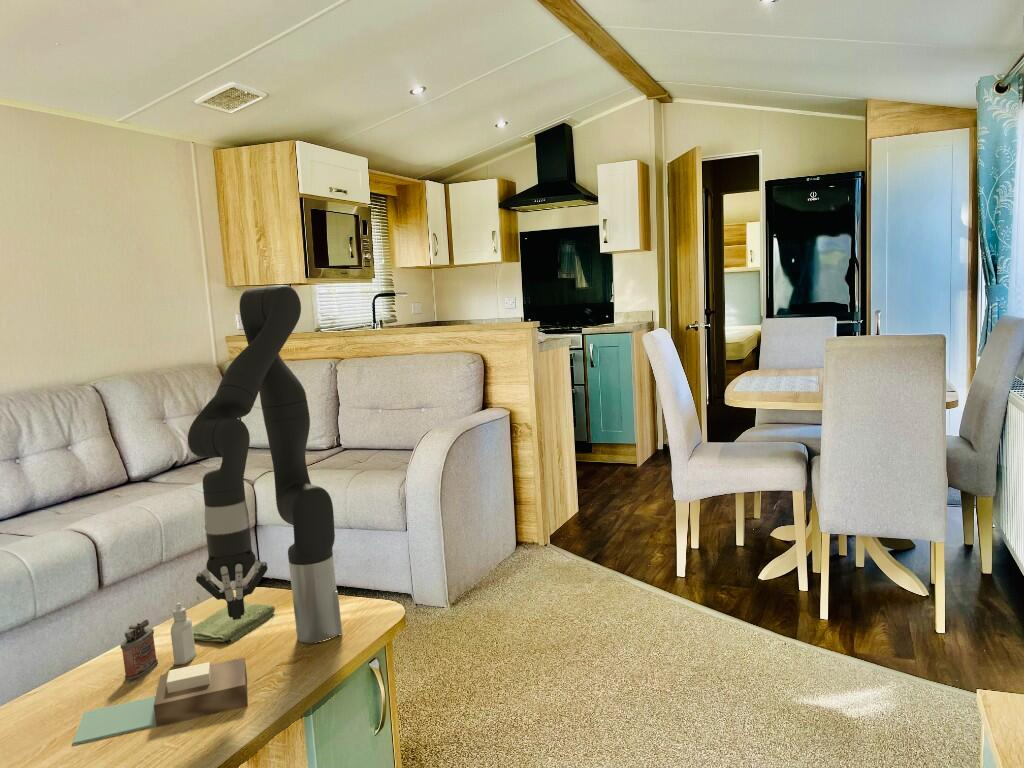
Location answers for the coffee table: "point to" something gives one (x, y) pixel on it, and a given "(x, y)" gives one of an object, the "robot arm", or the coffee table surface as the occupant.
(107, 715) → the mat
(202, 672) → the tile
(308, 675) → the coffee table surface
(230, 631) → the washcloth
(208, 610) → the coffee table surface
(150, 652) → the lighter
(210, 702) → the wooden block
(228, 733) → the coffee table surface
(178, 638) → the eye dropper bottle
